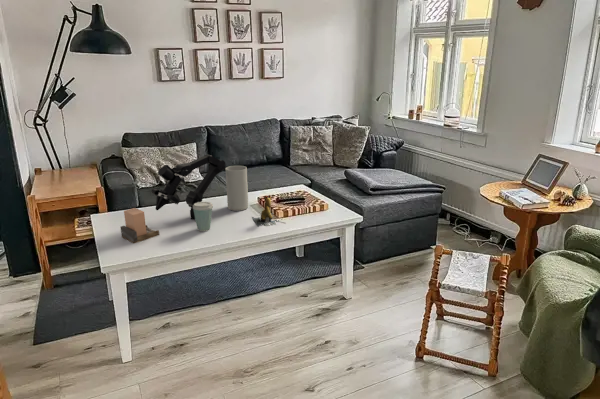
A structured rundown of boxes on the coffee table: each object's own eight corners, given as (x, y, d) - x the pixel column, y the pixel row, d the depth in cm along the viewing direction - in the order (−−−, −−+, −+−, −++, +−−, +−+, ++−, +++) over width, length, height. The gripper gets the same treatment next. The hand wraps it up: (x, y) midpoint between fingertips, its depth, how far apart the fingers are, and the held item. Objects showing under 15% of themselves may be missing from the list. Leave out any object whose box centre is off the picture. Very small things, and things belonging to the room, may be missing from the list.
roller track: (146, 229, 242) (145, 219, 241) (159, 235, 235) (158, 224, 233) (121, 237, 232) (120, 226, 230) (134, 243, 225) (132, 232, 223)
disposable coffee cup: (192, 227, 245) (190, 201, 240) (212, 224, 249) (210, 198, 244) (196, 234, 236) (194, 207, 231) (216, 231, 240) (214, 204, 235)
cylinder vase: (247, 211, 269) (245, 170, 261) (226, 211, 269) (223, 170, 261) (249, 204, 281) (247, 165, 273) (229, 204, 281) (227, 165, 273)
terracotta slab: (137, 229, 236) (134, 207, 233) (146, 233, 231) (144, 211, 227) (126, 232, 232) (123, 210, 228) (136, 237, 226) (133, 214, 223)
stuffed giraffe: (257, 227, 245) (257, 199, 241) (251, 217, 262) (250, 190, 257) (286, 225, 250) (286, 197, 246) (277, 215, 266) (277, 189, 262)
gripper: (192, 196, 242) (177, 221, 238) (172, 189, 254) (157, 213, 249) (178, 185, 234) (162, 211, 230) (158, 179, 245) (142, 203, 241)
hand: (156, 209), depth 238 cm, fingers closed
